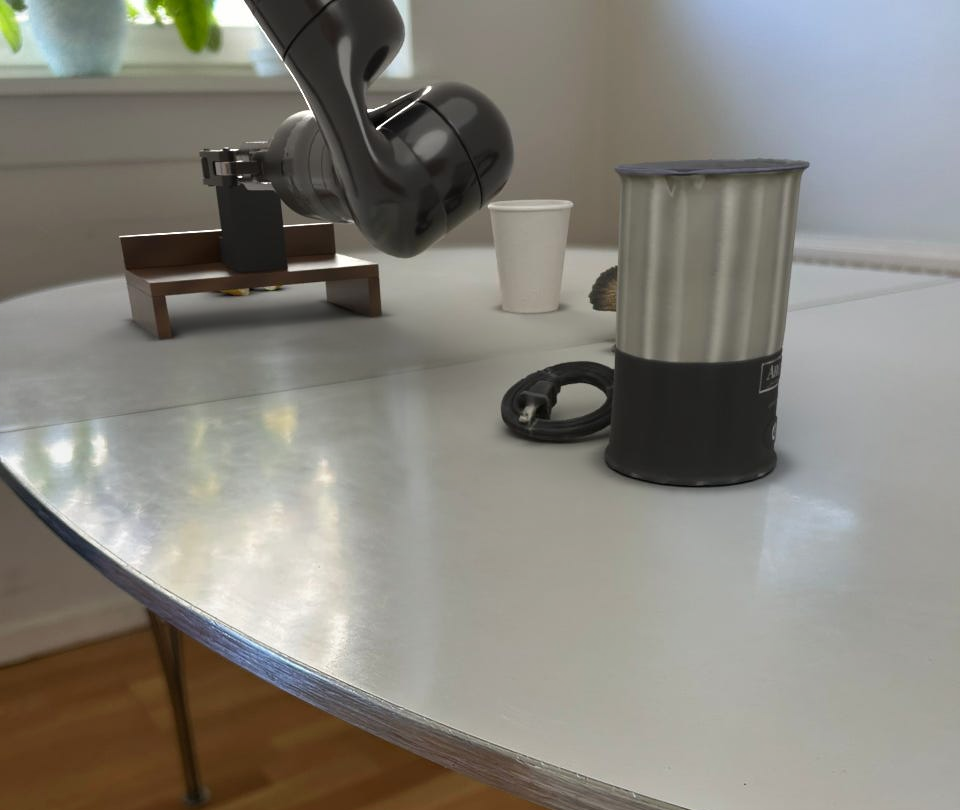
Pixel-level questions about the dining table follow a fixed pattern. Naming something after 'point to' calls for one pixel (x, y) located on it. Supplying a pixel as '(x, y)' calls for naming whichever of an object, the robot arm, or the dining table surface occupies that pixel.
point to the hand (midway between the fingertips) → (270, 163)
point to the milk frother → (687, 325)
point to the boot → (251, 229)
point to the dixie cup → (530, 252)
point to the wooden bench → (198, 268)
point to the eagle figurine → (605, 292)
